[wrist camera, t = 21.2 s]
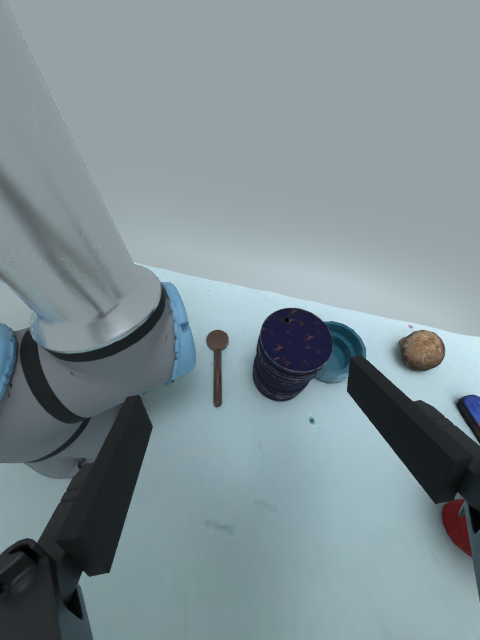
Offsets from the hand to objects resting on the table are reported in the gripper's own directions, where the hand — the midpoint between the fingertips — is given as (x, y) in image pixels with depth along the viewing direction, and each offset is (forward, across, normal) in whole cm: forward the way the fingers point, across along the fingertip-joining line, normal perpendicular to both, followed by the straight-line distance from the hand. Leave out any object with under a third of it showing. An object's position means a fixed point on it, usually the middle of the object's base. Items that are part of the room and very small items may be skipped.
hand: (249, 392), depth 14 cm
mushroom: (+23, +34, -20) cm, 46 cm away
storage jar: (+23, +7, -18) cm, 30 cm away
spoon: (+26, -4, -15) cm, 30 cm away
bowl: (+25, +17, -17) cm, 35 cm away
